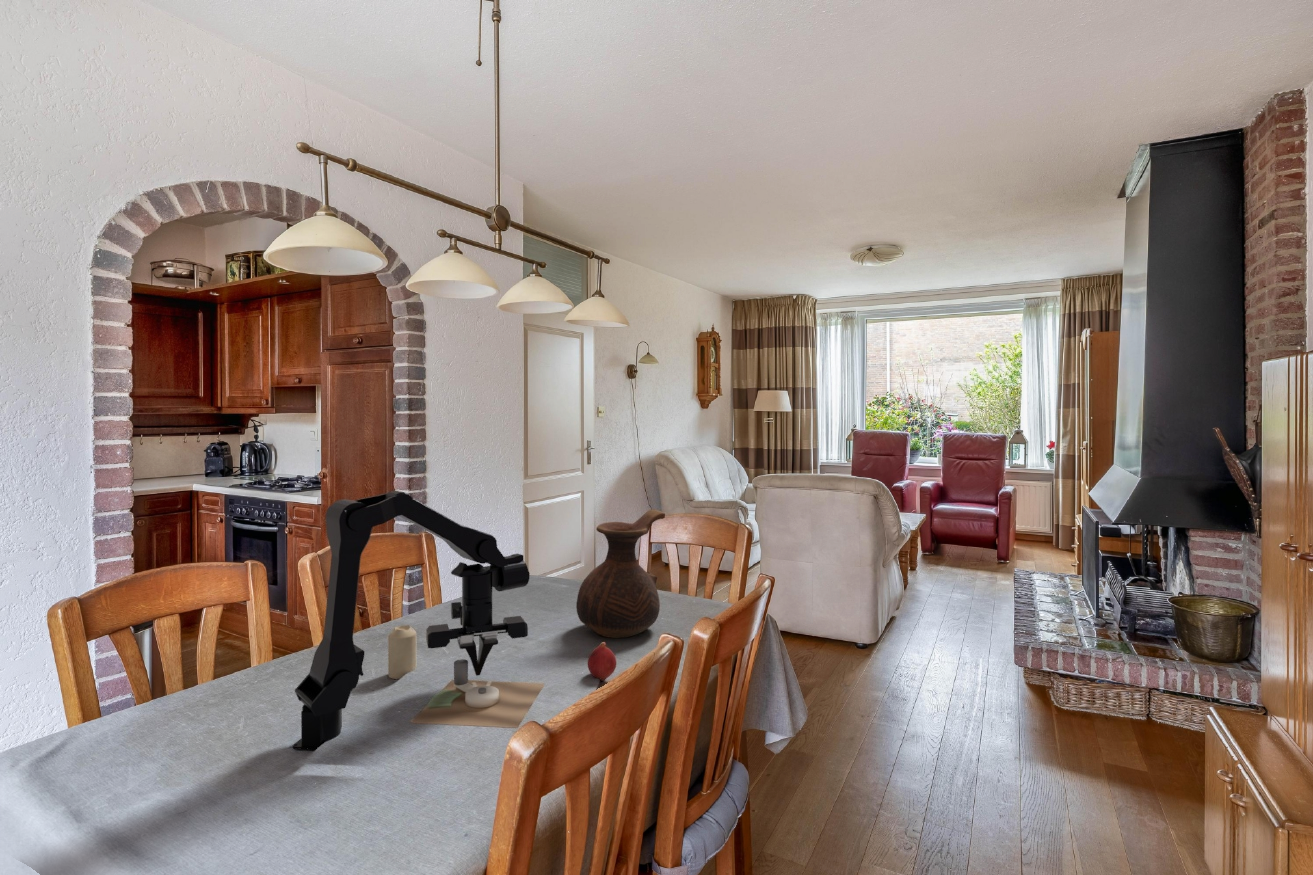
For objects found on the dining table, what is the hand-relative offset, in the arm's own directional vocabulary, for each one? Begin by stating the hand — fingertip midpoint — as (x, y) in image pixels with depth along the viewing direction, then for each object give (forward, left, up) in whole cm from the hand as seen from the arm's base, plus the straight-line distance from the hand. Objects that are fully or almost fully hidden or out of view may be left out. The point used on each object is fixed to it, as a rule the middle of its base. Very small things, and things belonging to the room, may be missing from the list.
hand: (477, 674), depth 130 cm
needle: (-5, -1, -2) cm, 5 cm away
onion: (+8, -23, -4) cm, 25 cm away
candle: (+7, +19, -4) cm, 21 cm away
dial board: (-7, -3, -4) cm, 8 cm away
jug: (+41, -22, -4) cm, 47 cm away
